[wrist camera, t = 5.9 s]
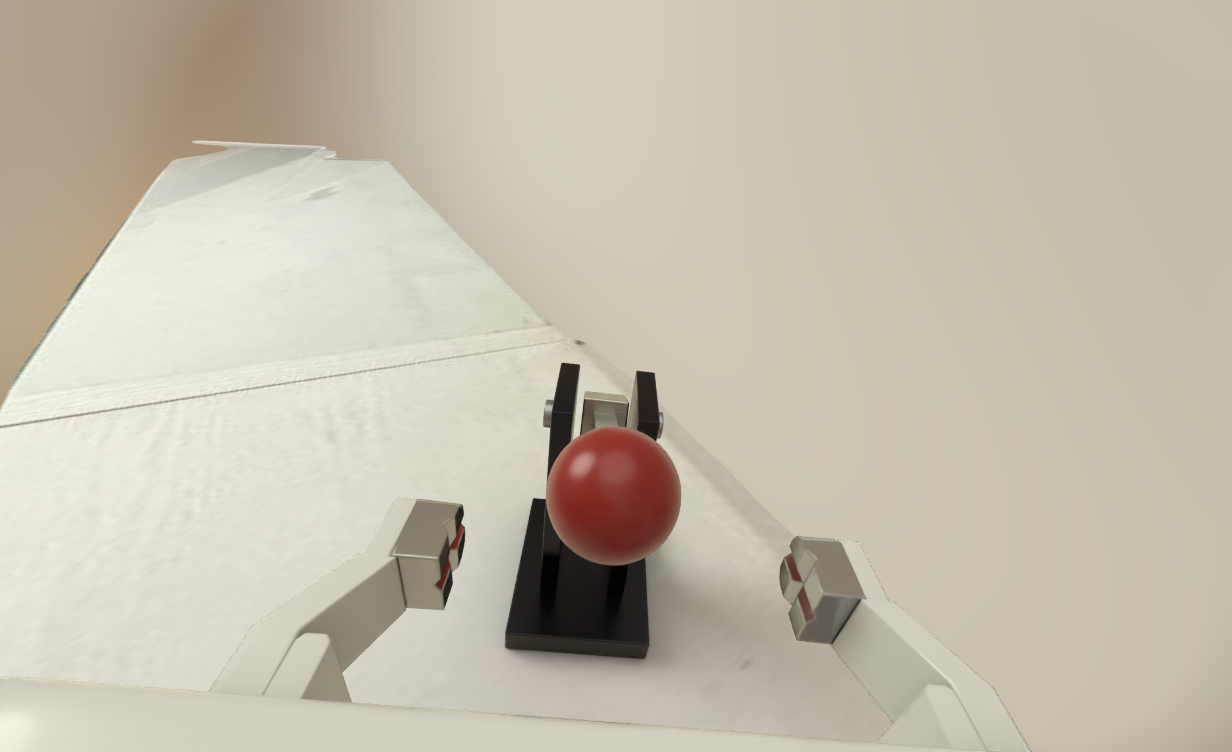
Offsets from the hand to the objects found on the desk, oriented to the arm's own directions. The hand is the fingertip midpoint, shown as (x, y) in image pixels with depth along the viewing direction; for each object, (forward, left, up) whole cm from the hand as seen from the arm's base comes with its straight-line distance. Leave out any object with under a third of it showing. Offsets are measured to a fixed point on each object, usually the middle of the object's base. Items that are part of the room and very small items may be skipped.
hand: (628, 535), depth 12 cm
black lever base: (+10, -6, -19) cm, 22 cm away
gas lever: (+5, -3, -4) cm, 7 cm away
